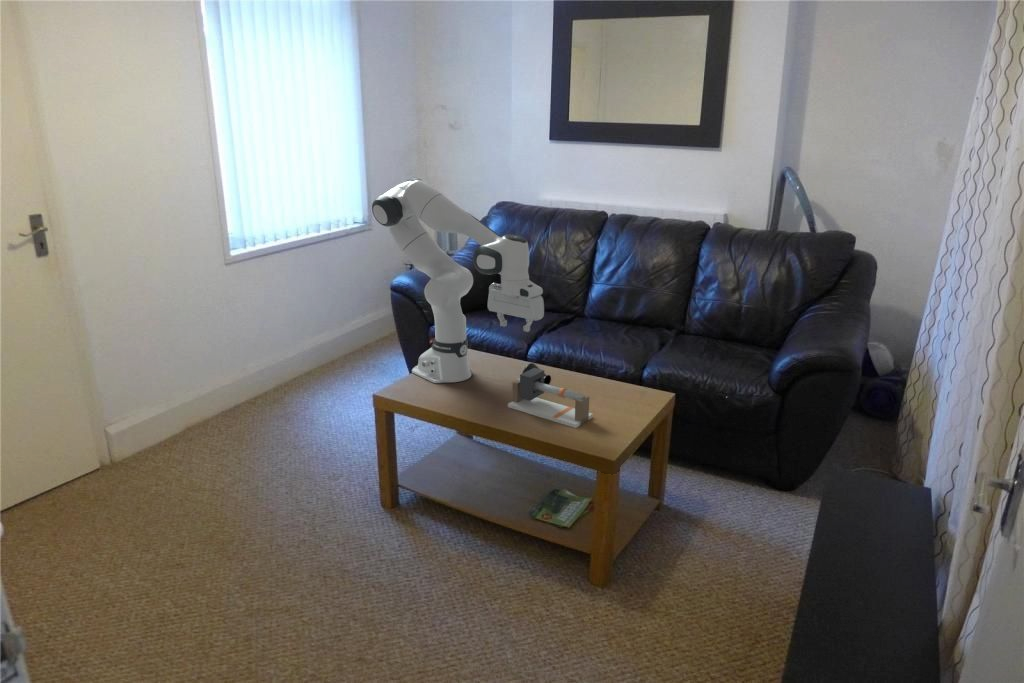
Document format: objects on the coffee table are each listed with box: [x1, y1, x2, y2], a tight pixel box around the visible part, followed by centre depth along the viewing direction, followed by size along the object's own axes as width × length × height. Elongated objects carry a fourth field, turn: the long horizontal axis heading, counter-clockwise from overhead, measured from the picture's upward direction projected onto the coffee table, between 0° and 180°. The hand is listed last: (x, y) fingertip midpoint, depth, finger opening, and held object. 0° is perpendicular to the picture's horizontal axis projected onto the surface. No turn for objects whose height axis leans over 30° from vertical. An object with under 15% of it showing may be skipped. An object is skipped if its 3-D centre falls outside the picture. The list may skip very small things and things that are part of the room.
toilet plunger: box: [521, 362, 552, 385], centre depth 244 cm, size 8×18×8 cm
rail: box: [507, 376, 594, 429], centre depth 225 cm, size 26×10×10 cm, turn 54°
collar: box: [519, 368, 545, 401], centre depth 228 cm, size 4×8×8 cm, turn 144°
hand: (514, 328), depth 226 cm, fingers open, 8 cm apart
